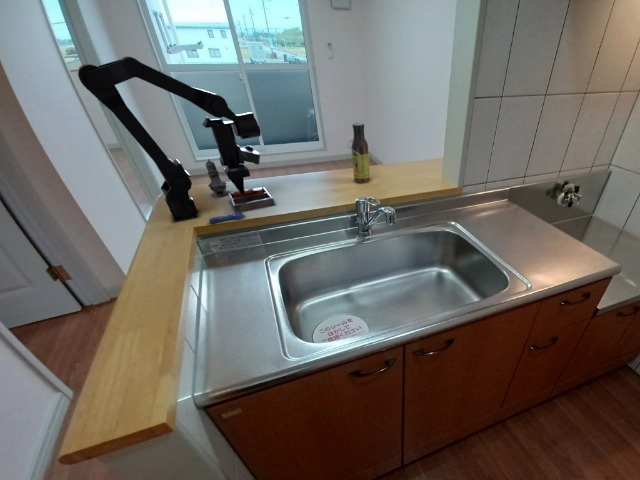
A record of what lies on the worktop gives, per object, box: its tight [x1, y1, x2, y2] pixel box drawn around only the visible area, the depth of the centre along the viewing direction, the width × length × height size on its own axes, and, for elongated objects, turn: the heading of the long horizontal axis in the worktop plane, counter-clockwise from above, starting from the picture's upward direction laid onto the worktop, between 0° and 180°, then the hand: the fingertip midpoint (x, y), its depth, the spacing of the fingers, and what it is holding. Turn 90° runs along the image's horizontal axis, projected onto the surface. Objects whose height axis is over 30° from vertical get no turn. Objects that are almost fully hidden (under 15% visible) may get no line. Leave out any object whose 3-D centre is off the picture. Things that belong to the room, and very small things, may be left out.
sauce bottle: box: [350, 122, 371, 184], centre depth 119 cm, size 7×6×20 cm
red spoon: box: [232, 187, 263, 197], centre depth 109 cm, size 10×3×2 cm, turn 120°
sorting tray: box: [227, 186, 275, 213], centre depth 109 cm, size 12×12×2 cm
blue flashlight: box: [208, 211, 244, 224], centre depth 98 cm, size 10×3×2 cm, turn 121°
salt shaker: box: [205, 158, 230, 198], centre depth 112 cm, size 6×6×12 cm
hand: (242, 192), depth 109 cm, fingers closed on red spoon, 1 cm apart
